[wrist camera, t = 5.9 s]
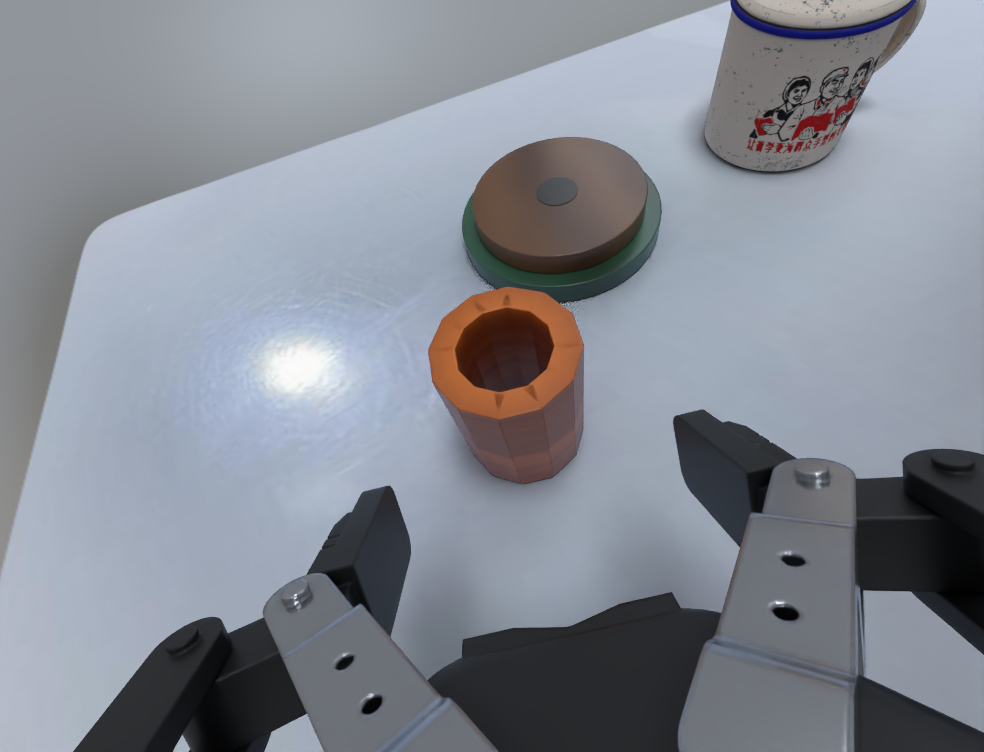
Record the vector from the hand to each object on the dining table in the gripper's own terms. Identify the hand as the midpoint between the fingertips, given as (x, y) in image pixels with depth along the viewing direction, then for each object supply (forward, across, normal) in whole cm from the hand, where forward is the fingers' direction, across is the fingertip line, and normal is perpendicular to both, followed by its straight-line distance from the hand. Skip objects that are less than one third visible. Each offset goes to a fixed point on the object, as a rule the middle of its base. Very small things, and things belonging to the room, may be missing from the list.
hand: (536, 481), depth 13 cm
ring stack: (+22, -6, -7) cm, 23 cm away
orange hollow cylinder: (+12, 0, +3) cm, 12 cm away
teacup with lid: (+24, -23, -9) cm, 35 cm away
